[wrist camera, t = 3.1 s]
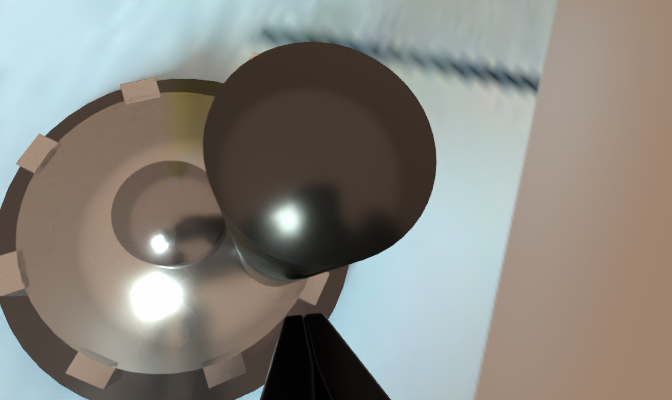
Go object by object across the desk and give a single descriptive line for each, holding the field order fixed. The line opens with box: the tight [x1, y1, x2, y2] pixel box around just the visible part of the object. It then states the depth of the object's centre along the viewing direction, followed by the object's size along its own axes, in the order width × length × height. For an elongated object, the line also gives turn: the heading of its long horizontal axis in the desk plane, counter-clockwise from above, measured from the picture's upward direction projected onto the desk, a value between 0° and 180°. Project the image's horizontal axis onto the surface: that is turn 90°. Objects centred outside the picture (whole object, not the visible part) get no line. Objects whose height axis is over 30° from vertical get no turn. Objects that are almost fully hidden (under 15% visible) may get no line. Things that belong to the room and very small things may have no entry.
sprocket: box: [0, 42, 436, 389], centre depth 9 cm, size 11×11×12 cm
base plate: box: [0, 52, 348, 400], centre depth 14 cm, size 13×13×4 cm
